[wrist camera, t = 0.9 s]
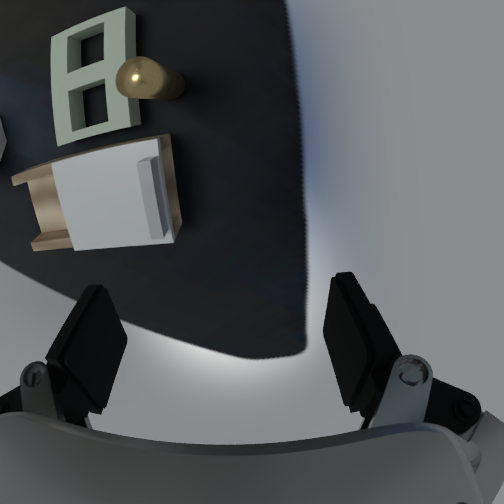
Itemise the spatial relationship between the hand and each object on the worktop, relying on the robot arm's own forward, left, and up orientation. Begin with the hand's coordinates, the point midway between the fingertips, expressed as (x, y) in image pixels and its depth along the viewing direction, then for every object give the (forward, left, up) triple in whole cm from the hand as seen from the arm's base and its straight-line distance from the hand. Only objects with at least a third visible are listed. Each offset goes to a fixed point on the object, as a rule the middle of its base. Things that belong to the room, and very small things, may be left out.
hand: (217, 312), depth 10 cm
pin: (-10, -5, -20) cm, 23 cm away
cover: (0, -12, -16) cm, 20 cm away
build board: (-13, -13, -20) cm, 28 cm away
